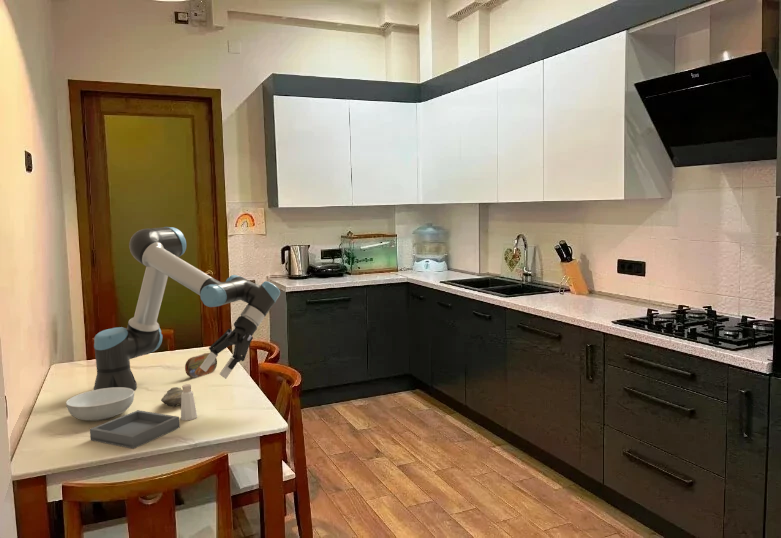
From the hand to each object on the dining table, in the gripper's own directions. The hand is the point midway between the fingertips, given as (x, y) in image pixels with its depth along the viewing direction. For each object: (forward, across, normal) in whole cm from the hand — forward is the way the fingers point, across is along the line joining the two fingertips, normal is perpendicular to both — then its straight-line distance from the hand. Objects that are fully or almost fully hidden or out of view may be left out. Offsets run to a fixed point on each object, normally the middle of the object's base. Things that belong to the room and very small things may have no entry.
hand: (212, 373), depth 209 cm
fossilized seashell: (+14, +17, -5) cm, 23 cm away
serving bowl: (+29, +26, +10) cm, 40 cm away
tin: (-4, +47, -23) cm, 52 cm away
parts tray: (+28, 0, +10) cm, 30 cm away
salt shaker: (+16, +1, -3) cm, 16 cm away
